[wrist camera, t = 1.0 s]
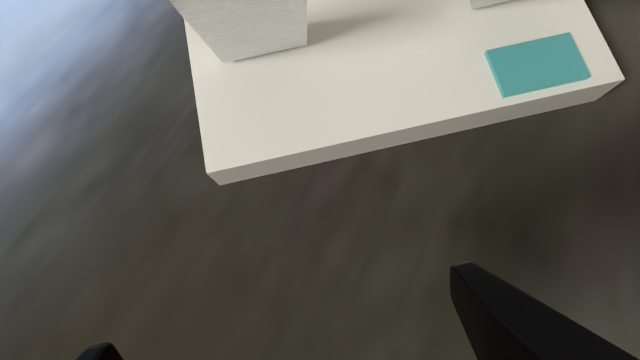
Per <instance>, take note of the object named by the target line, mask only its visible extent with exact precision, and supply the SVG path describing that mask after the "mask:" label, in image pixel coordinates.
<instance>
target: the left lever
mask: <svg viewBox="0 0 640 360" xmlns="http://www.w3.org/2000/svg"><path fill="white" fill-rule="evenodd" d="M169 2H170V3H171V4H172V5H173V6H174V7H175V9H176V10H177V11H178V12H179V13H180V14H181V15H182V17H183V18H184V19H185V20H186V21H187V22H188V24H189V25H190V26H191V27H192V28H193V29H194V30H195V32H196V33H197V34H198V35H199V36H200V37H201V38H202V40H203V41H204V42H205V43H206V44H207V45H208V47H209V48H210V49H211V50H212V51H213V52H214V53H215V55H216V56H217V57H218V58H219V59H220V60H221V62H222V63H226V62H231V61H235V60H240V59H244V58H249V57H254V56H258V55H263V54H267V53H272V52H277V51H281V50H286V49H290V48H295V47H300V46H304V45H307V0H169Z"/></svg>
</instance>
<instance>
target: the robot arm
mask: <svg viewBox="0 0 640 360" xmlns="http://www.w3.org/2000/svg"><path fill="white" fill-rule="evenodd" d="M450 290H451V298H452V301H453V304H454V306H455V309H456V311H457V313H458V315H459V318H460V320H461V322H462V325H463V327H464V329H465V332H466V334H467V336H468V339H469V341H470V343H471V345H472V348H473V350H474V352H475V355H476V357H477V359H478V360H639V359H638V358H636V357H634V356H632V355H631V354H629V353H627V352H626V351H624V350H622V349H620V348H619V347H617V346H615V345H614V344H612V343H610V342H609V341H607V340H605V339H603V338H602V337H600V336H598V335H597V334H595V333H593V332H592V331H590V330H588V329H586V328H585V327H583V326H581V325H580V324H578V323H576V322H574V321H573V320H571V319H569V318H568V317H566V316H564V315H563V314H561V313H559V312H557V311H556V310H554V309H552V308H551V307H549V306H547V305H546V304H544V303H542V302H540V301H539V300H537V299H535V298H534V297H532V296H530V295H528V294H527V293H525V292H523V291H522V290H520V289H518V288H517V287H515V286H513V285H511V284H510V283H508V282H506V281H505V280H503V279H501V278H500V277H498V276H496V275H494V274H493V273H491V272H489V271H488V270H486V269H484V268H483V267H481V266H479V265H477V264H476V263H474V262H472V261H465V262H460V263H456V264H453V265H452V266H451V268H450ZM75 360H123V358H122V357H121V355H120V354H119V352H118V351H117V349H116V348H115V346H114V345H113V344H111V343H107V342H106V343H102V344H97V345H93V346H90V347H88V348H87V349H85V350H84V351H83V352H82V353H81V354H80V355H79V356H78V357H77V358H76V359H75Z"/></svg>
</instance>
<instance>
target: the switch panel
mask: <svg viewBox="0 0 640 360" xmlns="http://www.w3.org/2000/svg"><path fill="white" fill-rule="evenodd" d="M184 21H185V28H186V35H187V42H188V49H189V56H190V63H191V70H192V77H193V83H194V90H195V97H196V104H197V111H198V118H199V125H200V132H201V139H202V145H203V152H204V159H205V166H206V173H207V174H208V175H209V176H210V177H211V178H212V179H213V180H215V181H216V182H217V183H218V184H219V185H224V184H228V183H233V182H237V181H242V180H246V179H251V178H255V177H260V176H264V175H268V174H273V173H277V172H282V171H286V170H291V169H295V168H299V167H304V166H308V165H313V164H317V163H322V162H326V161H330V160H335V159H339V158H344V157H348V156H353V155H357V154H361V153H366V152H370V151H375V150H379V149H384V148H388V147H392V146H397V145H401V144H406V143H410V142H415V141H419V140H423V139H428V138H432V137H437V136H441V135H446V134H450V133H454V132H459V131H463V130H468V129H472V128H477V127H481V126H485V125H490V124H494V123H499V122H503V121H508V120H512V119H516V118H521V117H525V116H530V115H534V114H539V113H543V112H547V111H552V110H556V109H561V108H565V107H570V106H574V105H578V104H583V103H587V102H592V101H596V100H597V99H598V98H600V97H601V96H603V95H604V94H605V93H607V92H608V91H610V90H611V89H612V88H614V87H615V86H617V85H618V84H619V83H621V82H622V81H623V80H625V78H624V76H623V74H622V72H621V70H620V68H619V67H618V65H617V63H616V61H615V59H614V57H613V55H612V53H611V51H610V49H609V47H608V45H607V43H606V41H605V40H604V38H603V36H602V34H601V32H600V30H599V28H598V26H597V24H596V22H595V20H594V18H593V16H592V15H591V13H590V11H589V9H588V7H587V5H586V3H585V1H584V0H511V1H507V2H502V3H497V4H493V5H488V6H484V7H479V8H474V9H471V3H470V0H307V45H304V46H300V47H295V48H290V49H286V50H281V51H277V52H272V53H267V54H263V55H258V56H254V57H249V58H244V59H240V60H235V61H231V62H226V63H222V62H221V60H220V59H219V58H218V57H217V56H216V55H215V53H214V52H213V51H212V50H211V49H210V48H209V47H208V45H207V44H206V43H205V42H204V41H203V40H202V38H201V37H200V36H199V35H198V34H197V33H196V32H195V30H194V29H193V28H192V27H191V26H190V25H189V24H188V22H187V21H186V20H185V19H184Z"/></svg>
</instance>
